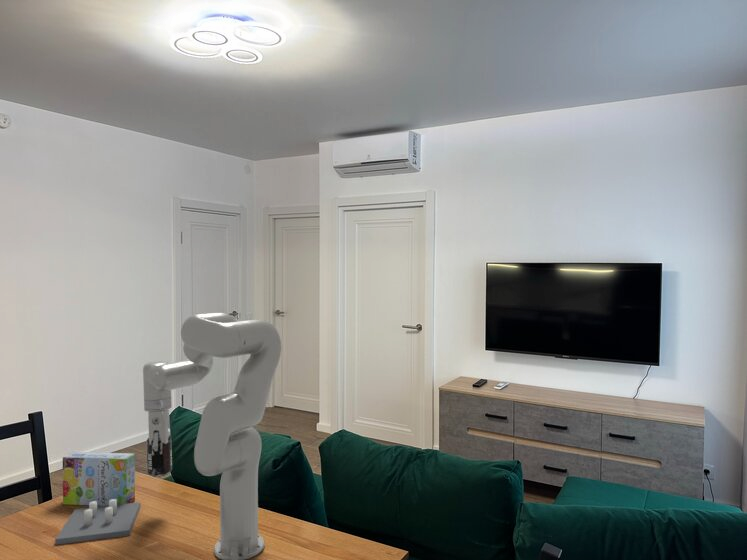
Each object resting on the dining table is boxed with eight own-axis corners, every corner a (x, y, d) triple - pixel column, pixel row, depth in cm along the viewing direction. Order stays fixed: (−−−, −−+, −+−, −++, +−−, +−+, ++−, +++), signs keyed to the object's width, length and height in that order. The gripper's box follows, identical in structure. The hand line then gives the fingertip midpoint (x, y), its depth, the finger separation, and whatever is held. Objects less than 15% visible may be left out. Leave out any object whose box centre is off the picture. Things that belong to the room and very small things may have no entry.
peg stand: (129, 535, 143) (129, 515, 143) (55, 544, 138) (55, 524, 138) (140, 506, 160) (140, 489, 160) (75, 514, 156) (74, 495, 155)
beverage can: (152, 480, 150) (151, 438, 150) (144, 474, 155) (142, 434, 156) (175, 473, 155) (174, 433, 155) (167, 468, 160) (165, 429, 160)
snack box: (136, 500, 165) (135, 452, 165) (126, 508, 160) (125, 459, 159) (73, 497, 167) (72, 450, 167) (61, 505, 162) (60, 456, 162)
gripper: (167, 409, 148) (169, 472, 148) (174, 396, 165) (176, 453, 165) (139, 411, 146) (141, 475, 146) (148, 398, 163) (150, 456, 163)
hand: (159, 463), depth 155 cm, fingers closed on beverage can, 6 cm apart
